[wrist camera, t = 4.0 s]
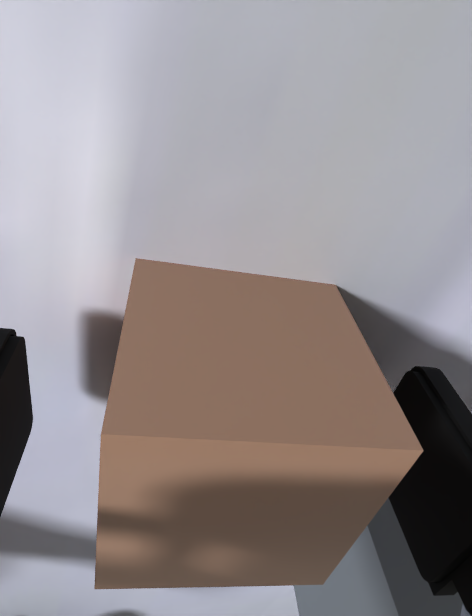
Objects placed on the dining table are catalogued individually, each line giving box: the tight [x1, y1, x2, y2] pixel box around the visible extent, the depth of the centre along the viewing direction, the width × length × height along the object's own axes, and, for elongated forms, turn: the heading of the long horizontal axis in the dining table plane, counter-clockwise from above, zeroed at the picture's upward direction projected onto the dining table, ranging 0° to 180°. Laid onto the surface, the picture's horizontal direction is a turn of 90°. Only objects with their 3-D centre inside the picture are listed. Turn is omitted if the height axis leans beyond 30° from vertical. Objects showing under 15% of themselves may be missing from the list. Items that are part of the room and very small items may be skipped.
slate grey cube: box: [294, 498, 463, 616], centre depth 16 cm, size 5×5×5 cm
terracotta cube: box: [95, 258, 423, 589], centre depth 10 cm, size 5×5×5 cm
